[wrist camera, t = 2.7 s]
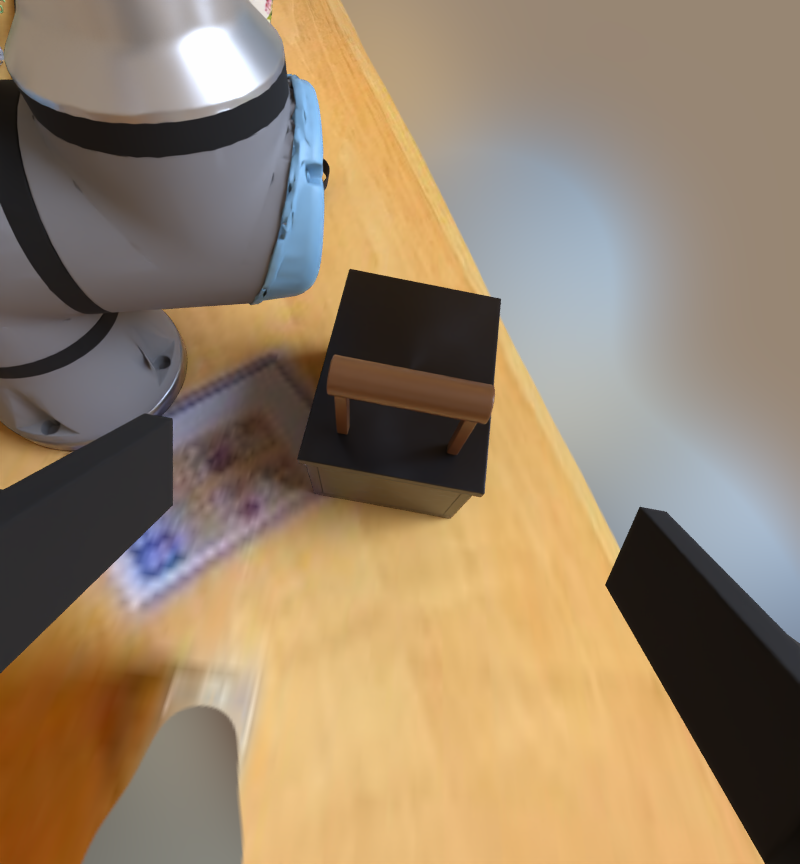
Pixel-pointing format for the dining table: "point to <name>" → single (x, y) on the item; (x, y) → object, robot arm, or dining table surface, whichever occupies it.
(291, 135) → the robot arm
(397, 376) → the bacon press
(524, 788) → the dining table surface
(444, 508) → the open box
